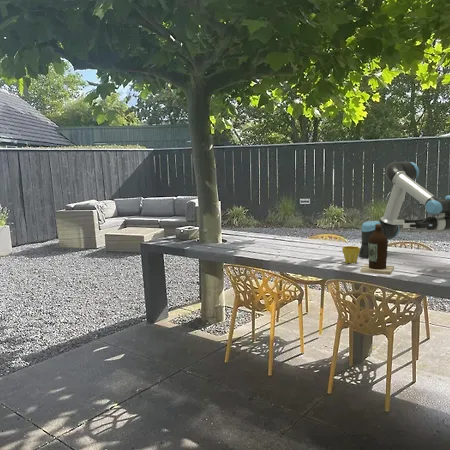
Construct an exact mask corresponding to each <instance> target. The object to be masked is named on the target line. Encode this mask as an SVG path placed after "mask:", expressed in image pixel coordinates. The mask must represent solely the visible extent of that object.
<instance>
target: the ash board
mask: <svg viewBox="0 0 450 450" xmlns="http://www.w3.org/2000/svg"><path fill="white" fill-rule="evenodd" d="M394 267H395V266H394V265H386V269H371V268H369V263H365V264H364V265H363V266H362V267H361V268H360V273H367V274H379V275H388V276H389V275H391V274H392V273H393V271H394Z"/></svg>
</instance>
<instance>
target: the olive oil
mask: <svg viewBox="0 0 450 450" xmlns="http://www.w3.org/2000/svg"><path fill="white" fill-rule="evenodd" d="M375 226H376V227H375V232H374V233H373V234H372V235H371V236H370V237H369V240H368V252H369V258H368V264H369V268H371V269H386V266H387V260H388V259H387V258H388V246H389V241H388V240H389V239H387V237H386V236H385V235H384V234H383V233H382V231H381V224H376V225H375Z"/></svg>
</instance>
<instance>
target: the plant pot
mask: <svg viewBox="0 0 450 450" xmlns="http://www.w3.org/2000/svg"><path fill="white" fill-rule="evenodd" d="M360 248H361V247H359V246H354V245H347V246H346V245H345V246H343V247H342V249H341V250H342V253H343V256H344V261H345V264H348V263H355V264H357V262H358V258H359V253H360Z"/></svg>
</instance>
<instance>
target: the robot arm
mask: <svg viewBox="0 0 450 450" xmlns="http://www.w3.org/2000/svg"><path fill="white" fill-rule="evenodd" d="M419 174H420V168H419V167H418V165H417V164H416V163H415V162H413V161H393V162H391V163H389V164H388V165H387V166H386V168H385V177H386V179H387V180H388V181H389V182H390V183H392V184H393V186H392V189H391V193H390V195H389V197H388V201H387V204H386V208H385V209H384V210H385V211H384V213H383V216H381V217H380V218H379V220H369V221H368V220H367V221H365V222H363V223H362V225H361V229H360V230H361V245H360V247H359V248H360V253H359V254H358V258H363V259H369V252H368V240H369V237H370V236H371V235H372V234H373V233H374V232H375V227H376V226H375V225H376V224H381V231H382V233H383V234H384V235H385V236H386V237H387V239H388V240H391V239H395V238H396V237H397V236H398V235H399V233H400V226H401V225H402V227H403V229H419V230H420V229H426V230H429V231H435V230H436V231H443V230H447V231H448V230H450V195H446V196H445V199H439V198H438V197H436V196H435V195H434V194H433V193H431V192H429V190H427V189H426V188H424V187H423V186H422V185H421V184H419V183H418V182H416V181H415V180H416V179H418V178H419ZM406 193H407V194H408V195H410V196H411V197H413V198H414V199H415V200H416V201H418V202H419V203H421V204H422V205H423V206H424V207H425V211H426V212H427V213H428V214H431V215H438V214H444V216H428V217H426V218H425V220H424V219H406V218H405V219H404V218H402V219H398V217H399V215H400V211H401V208H402V206H403V203H404V200H405V197H406ZM399 225H400V226H399Z"/></svg>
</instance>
